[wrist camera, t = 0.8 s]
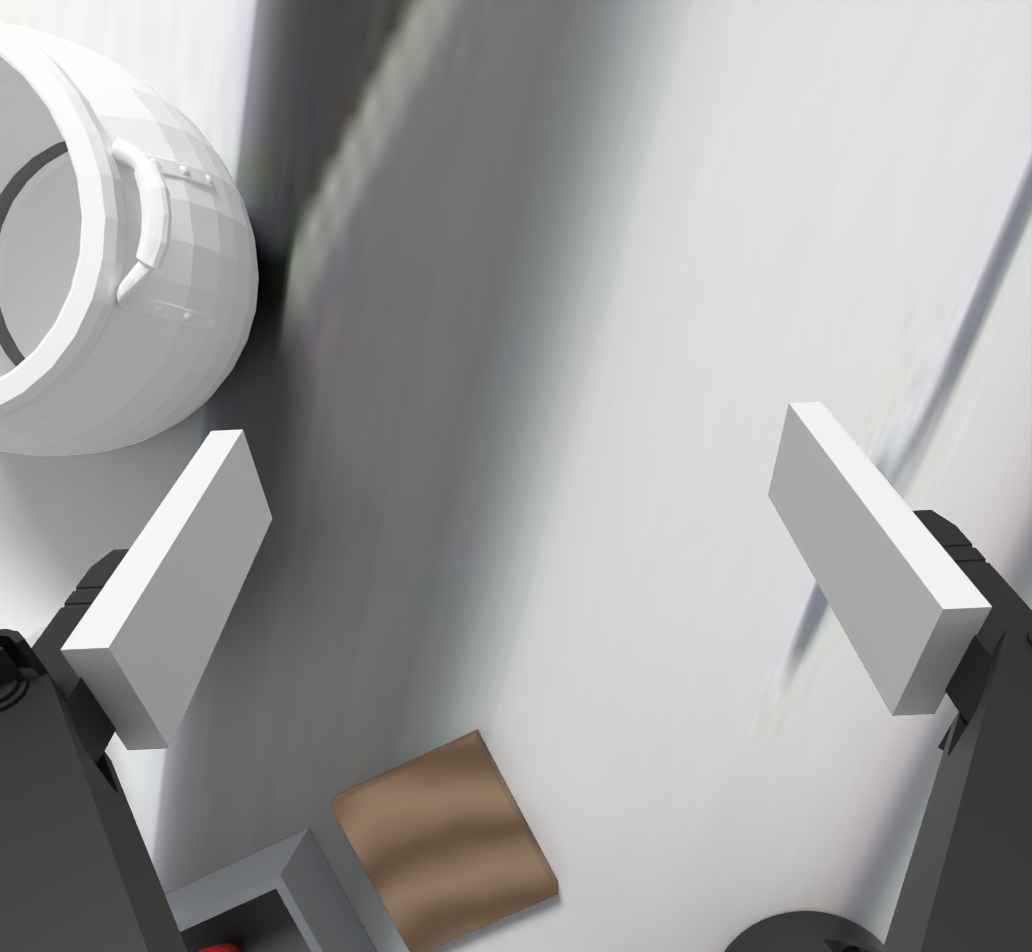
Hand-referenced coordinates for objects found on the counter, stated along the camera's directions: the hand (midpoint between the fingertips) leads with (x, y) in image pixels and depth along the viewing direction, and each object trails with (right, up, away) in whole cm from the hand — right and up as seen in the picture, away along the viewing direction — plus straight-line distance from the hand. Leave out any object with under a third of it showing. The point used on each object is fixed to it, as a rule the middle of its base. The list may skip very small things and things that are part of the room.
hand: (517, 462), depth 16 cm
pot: (-31, +15, +35) cm, 49 cm away
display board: (-6, -30, +37) cm, 47 cm away
